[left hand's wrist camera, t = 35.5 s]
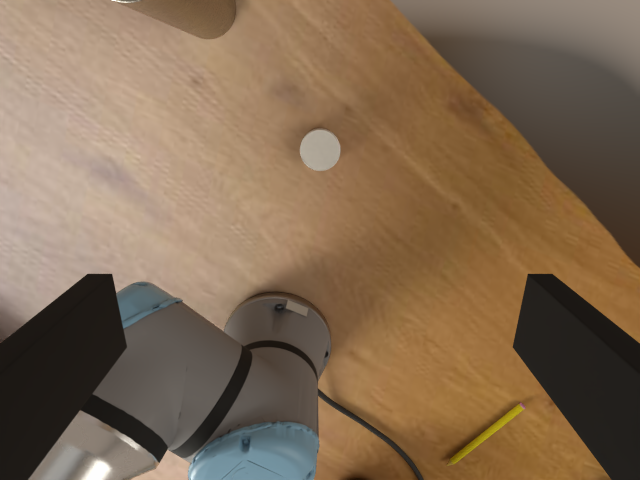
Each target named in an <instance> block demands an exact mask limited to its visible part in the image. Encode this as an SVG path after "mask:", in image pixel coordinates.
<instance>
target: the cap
mask: <svg viewBox="0 0 640 480" xmlns="http://www.w3.org/2000/svg"><path fill="white" fill-rule="evenodd" d="M300 155H301V158H302V160H303V162H304V163H305V164H306V165H307V166H308V167H309V168H311V169H313V170H317V171H324V170H327V169H330V168H331V167H333V166H334V165H335V164H336V162H337V161H338V159H339V156H340V144H339V141H338V139H337V137H336V136H335V135H334V134H333V133H332V132H331V131H329V130H327V129H323V128H317V129H313V130H311V131H309V132H308V133H307V134H306V135H305V136H304V138H303V140H302V142H301V146H300Z"/></svg>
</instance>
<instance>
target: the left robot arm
mask: <svg viewBox="0 0 640 480" xmlns="http://www.w3.org/2000/svg"><path fill="white" fill-rule="evenodd" d="M182 301H183V300H181V299H180V298H175V297H173V296H171V295H170V294H168V293H167V292H165V291H163V290H162V289H160V288H159V287H157V286H156V285H154V284H152V283H149V282H136V283H133V284H131V285H129V286H127V287H125V288H124V289H122V290H121V291H119V292H118V293H117V294H116V291H115V286H114V281H113V276H112V274H87V275H86V276H85V277H83V278H82V279H81V280H80V281H78V282H77V283H76V284H75V285H73V286H72V287H71V288H69V289H68V290H67V291H66V292H64V293H63V294H62V295H61V296H59V297H58V298H57V299H56V300H54V301H53V302H52V303H51V304H49V305H48V306H47V307H46V308H44V309H43V310H42V311H41V312H39V313H38V314H37V315H36V316H34V317H33V318H32V319H31V320H29V321H28V322H27V323H26V324H24V325H23V326H22V327H21V328H19V329H18V330H17V331H16V332H14V333H13V334H12V335H10V336H9V337H8V338H7V339H5V340H4V341H3V342H2V343H0V480H131V479H132V478H134V477H137V476H139V475H141V474H144V473H146V472H149V471H151V470H154V469H156V468H157V466H158V464H159V463H160V461H161V459H162V458H163V456H164V454H165V453H166V451H167V450H169V451H171V452H173V453H174V454H176V455H178V456H179V457H181V458H183V459H184V460H186V461H188V462H189V463H191V464H190V466H189V470H188V478H189V480H314V476H315V472H316V462H317V453H318V450H319V434H318V396H319V397H321V398H322V399H323V400H324V401H325V402H327V403H328V404H329V405H331V406H332V407H334V408H335V409H337V410H339V411H340V412H342V413H343V414H345V415H347V416H348V417H350V418H352V419H353V420H355V421H356V422H358V423H360V424H361V425H363V426H364V427H365V428H367V429H368V430H370V431H371V432H373V433H374V434H375V435H377V436H378V437H380V438H381V439H383V440H384V441H385V442H387V443H388V444H389V445H390V446H391V447H393V448H394V449H395V450H396V451H397V452H398V453H399V454H400V455H401V456H402V457H403V458H404V459H405V461H406V462H407V463H408V464H409V465H410V467H411V468H412V470H413V471H414V473H415V474H416V476H417V478H418V479H419V480H424V479H423V478H422V476H421V474H420V472H419V471H418V469H417V467H416V466H415V464H414V463H413V462H412V460H411V459H410V458H409V457H408V456H407V455H406V454H405V453H404V451H403V450H402V449H401V448H400V447H399V446H397V445H396V444H395V443H394V442H393V441H392V440H390V439H389V438H388V437H387V436H385V435H384V434H382V433H381V432H380V431H378V430H377V429H375V428H374V427H372V426H371V425H370V424H368V423H367V422H365V421H364V420H362V419H361V418H359V417H358V416H356V415H354V414H353V413H351V412H350V411H348V410H346V409H345V408H343V407H341V406H340V405H338V404H337V403H335V402H334V401H332V400H331V399H330V398H328V397H327V396H326V395H325V394H324V393H323V392H321V391H320V390H319V389H318V380H319V378H320V376H321V374H322V372H323V370H324V368H325V366H326V364H327V362H328V359H329V356H330V352H331V334H330V329H329V326H328V323H327V321H326V319H325V317H324V316H323V315H322V313H321V312H320V311H319V310H318V309H317V308H316V307H315V306H314V305H313V304H311V303H310V302H308V301H307V300H305V299H303V298H301V297H298V296H295V295H292V294H288V293H280V292H271V293H264V294H260V295H256V296H254V297H251V298H249V299H247V300H246V301H244V302H243V303H241V304H240V305H239V306H238V307H237V308H236V309H235V310H234V311H233V312H232V314H231V315H230V317H229V319H228V321H227V324H226V326H225V329H224V332H223V331H222V330H221V329H219V328H218V327H216V326H215V325H214V324H212V323H211V322H209V321H208V320H207V319H205V318H204V317H202V316H201V315H200V314H198V313H197V312H195V311H194V310H193V309H191V308H190V307H188V306H187V305H186V304H184V303H183V302H182ZM513 348H514V349H515V351H516V352H517V353H518V355H519V356H520V357H521V359H522V360H523V361H524V363H525V364H526V366H527V367H528V368H529V370H530V371H531V372H532V374H533V375H534V376H535V378H536V379H537V380H538V382H539V383H540V384H541V386H542V387H543V388H544V390H545V391H546V392H547V394H548V395H549V396H550V398H551V399H552V400H553V402H554V403H555V404H556V406H557V407H558V408H559V410H560V411H561V412H562V414H563V415H564V416H565V418H566V419H567V420H568V422H569V423H570V424H571V426H572V427H573V428H574V430H575V431H576V432H577V434H578V435H579V436H580V438H581V439H582V441H583V442H584V443H585V445H586V446H587V447H588V449H589V450H590V451H591V453H592V454H593V455H594V457H595V458H596V459H597V461H598V462H599V463H600V465H601V466H602V467H603V469H604V470H605V471H606V473H607V474H608V475H609V477H610V478H611V479H612V480H640V343H638V342H637V341H636V340H635V339H633V338H632V337H631V336H630V335H628V334H627V333H626V332H624V331H623V330H622V329H621V328H619V327H618V326H617V325H616V324H614V323H613V322H612V321H611V320H609V319H608V318H607V317H606V316H604V315H603V314H602V313H601V312H599V311H598V310H597V309H596V308H594V307H593V306H592V305H591V304H589V303H588V302H587V301H586V300H584V299H583V298H582V297H581V296H579V295H578V294H577V293H576V292H574V291H573V290H572V289H571V288H569V287H568V286H567V285H565V284H564V283H563V282H562V281H560V280H559V279H558V278H557V277H555V276H554V275H553V274H528V276H527V281H526V286H525V291H524V296H523V300H522V305H521V310H520V315H519V320H518V324H517V329H516V334H515V339H514V344H513Z"/></svg>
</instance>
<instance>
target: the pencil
mask: <svg viewBox="0 0 640 480" xmlns="http://www.w3.org/2000/svg"><path fill="white" fill-rule="evenodd" d="M525 408H526V407H525V406H524V405H523V404H522V403H521V402H520V403H519V404H518V405H517V406H515V407H514V408H513V409H512V410H510V411H509V412H508V413H507V414H505V415H504V416H503V417H501V418H500V419H499V420H498V421H496V422H495V423H494V424H493V425H491V426H490V427H489V428H488V429H486V430H485V431H484V432H483V433H481V434H480V435H479V436H478V437H476V438H475V439H474V440H473V441H471V442H470V443H469V444H468V445H466V446H465V447H464V448H463V449H461V450H460V451H459V452H458V453H456V454H455V455H454V456H453V457H451V458H450V460H449V462H448V463H447V465H446V466H449V465H453V464H455V463H457V462H458V461H459V460H460V459H462V458H463V457H464V456H465V455H467V454H468V453H469V452H471V451H472V450H473V449H474V448H476V447H477V446H478V445H479V444H481V443H482V442H483V441H484V440H486V439H487V438H488V437H490V436H491V435H492V434H493V433H495V432H496V431H497V430H498V429H500V428H501V427H502V426H504V425H505V424H506V423H507V422H509V421H510V420H511V419H512V418H514V417H515V416H516V415H517V414H519V413H520V412H521V411H523V410H524V409H525Z"/></svg>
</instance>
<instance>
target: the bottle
mask: <svg viewBox="0 0 640 480" xmlns="http://www.w3.org/2000/svg"><path fill="white" fill-rule="evenodd" d="M112 1H114V2H117V3H119V4H121V5H124V6H126V7H128V8H131V9H133V10H136V11H138V12H140V13H143V14H145V15H147V16H150V17H152V18H154V19H157V20H159V21H161V22H164V23H166V24H168V25H171V26H173V27H175V28H178V29H180V30H183V31H185V32H187V33H190V34H192V35H194V36H197V37H199V38H203V39H214V38H218V37H220V36H222V35H223V34H225V33H226V32H227V31H228V30H229V29H230V27H231V26H232V24H233V21H234V19H235V14H236V2H235V0H112Z"/></svg>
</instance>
